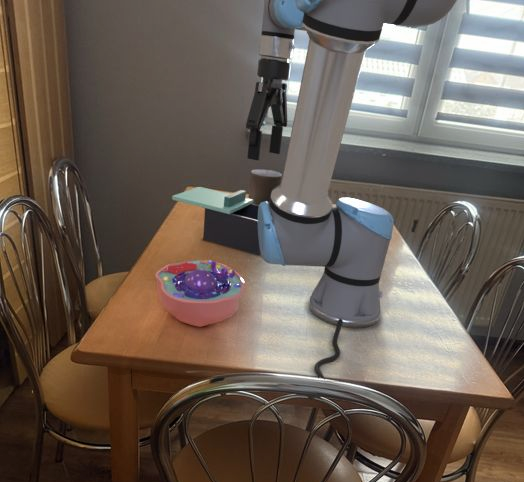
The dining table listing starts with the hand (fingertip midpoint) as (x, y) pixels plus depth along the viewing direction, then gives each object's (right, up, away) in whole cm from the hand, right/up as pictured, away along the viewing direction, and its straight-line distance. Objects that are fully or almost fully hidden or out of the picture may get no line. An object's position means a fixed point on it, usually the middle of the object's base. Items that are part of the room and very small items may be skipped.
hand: (264, 156), depth 128 cm
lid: (-14, -8, +12) cm, 20 cm away
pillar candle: (-1, -6, +35) cm, 36 cm away
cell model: (-13, -42, -27) cm, 52 cm away
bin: (-6, -18, +14) cm, 24 cm away
